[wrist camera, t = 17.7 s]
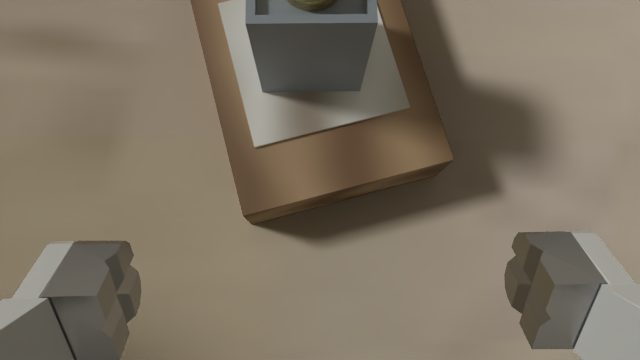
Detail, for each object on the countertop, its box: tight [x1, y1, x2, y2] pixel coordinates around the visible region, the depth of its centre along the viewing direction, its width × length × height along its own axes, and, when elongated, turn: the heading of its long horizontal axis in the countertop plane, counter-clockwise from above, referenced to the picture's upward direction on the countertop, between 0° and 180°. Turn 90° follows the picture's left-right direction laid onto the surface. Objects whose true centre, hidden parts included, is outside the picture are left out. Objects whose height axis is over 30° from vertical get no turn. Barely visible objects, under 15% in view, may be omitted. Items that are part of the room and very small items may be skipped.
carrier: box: [245, 0, 378, 92], centre depth 25 cm, size 6×4×8 cm
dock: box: [191, 0, 454, 224], centre depth 30 cm, size 12×17×4 cm
